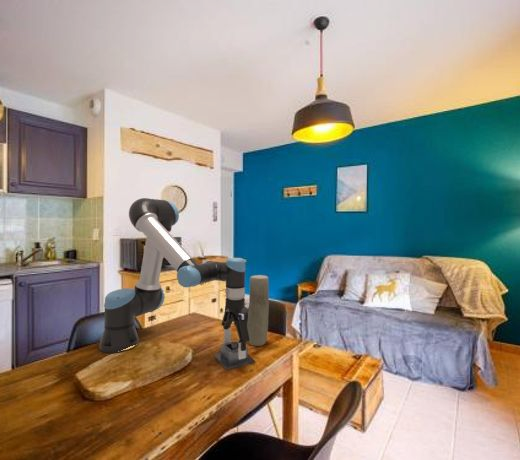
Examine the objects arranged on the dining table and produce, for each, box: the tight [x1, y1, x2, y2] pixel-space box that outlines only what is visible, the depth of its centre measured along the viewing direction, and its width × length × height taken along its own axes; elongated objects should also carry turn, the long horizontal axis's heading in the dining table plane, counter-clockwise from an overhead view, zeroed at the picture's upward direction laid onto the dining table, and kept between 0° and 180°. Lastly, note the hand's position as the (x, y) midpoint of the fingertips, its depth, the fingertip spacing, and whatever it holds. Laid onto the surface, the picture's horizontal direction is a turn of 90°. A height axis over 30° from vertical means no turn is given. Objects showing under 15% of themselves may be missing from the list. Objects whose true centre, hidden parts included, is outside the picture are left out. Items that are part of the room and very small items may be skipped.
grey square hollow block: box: [220, 339, 249, 364], centre depth 111 cm, size 8×8×4 cm
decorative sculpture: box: [241, 274, 270, 347], centre depth 128 cm, size 14×10×30 cm
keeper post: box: [213, 337, 256, 371], centre depth 111 cm, size 12×12×8 cm
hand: (234, 351), depth 111 cm, fingers open, 13 cm apart
